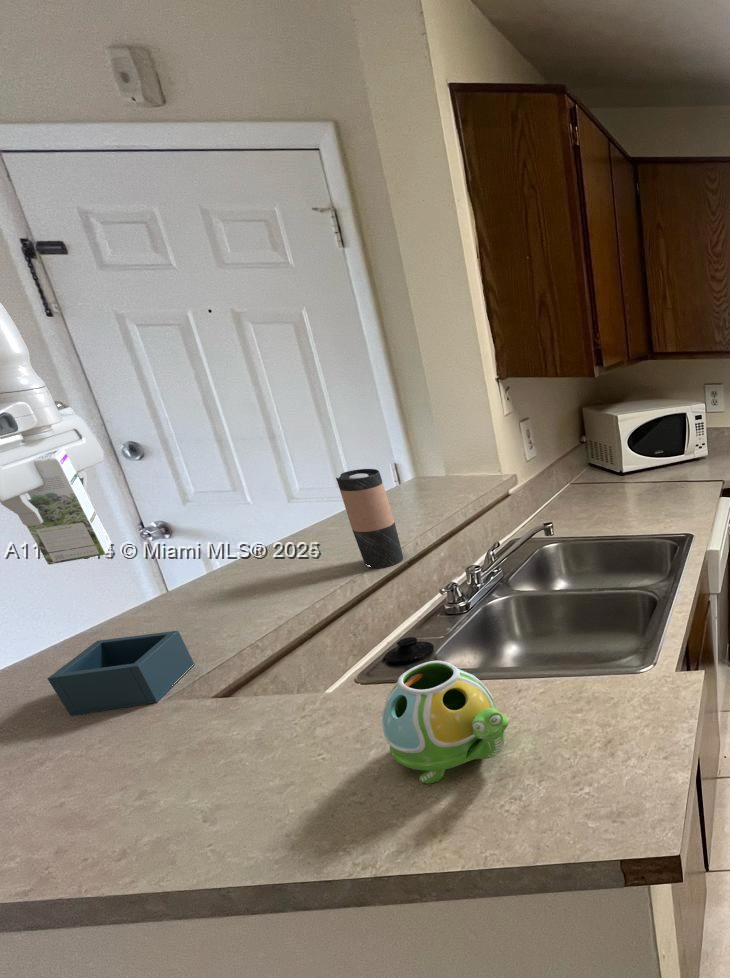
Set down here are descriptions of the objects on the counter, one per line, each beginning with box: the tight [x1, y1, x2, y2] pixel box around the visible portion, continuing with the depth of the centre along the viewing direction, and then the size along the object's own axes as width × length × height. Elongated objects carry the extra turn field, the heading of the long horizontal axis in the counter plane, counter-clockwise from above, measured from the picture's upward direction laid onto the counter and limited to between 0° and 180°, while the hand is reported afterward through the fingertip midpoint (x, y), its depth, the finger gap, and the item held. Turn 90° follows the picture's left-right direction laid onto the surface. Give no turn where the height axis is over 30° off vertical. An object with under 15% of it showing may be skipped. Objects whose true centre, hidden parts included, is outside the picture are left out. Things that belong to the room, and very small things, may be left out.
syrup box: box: [26, 450, 112, 565], centre depth 84 cm, size 6×6×14 cm
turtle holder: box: [381, 660, 509, 784], centre depth 78 cm, size 12×18×12 cm
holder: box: [46, 630, 195, 716], centre depth 91 cm, size 10×10×6 cm
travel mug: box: [335, 468, 404, 570], centre depth 129 cm, size 8×8×20 cm
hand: (59, 513), depth 84 cm, fingers closed on syrup box, 7 cm apart
